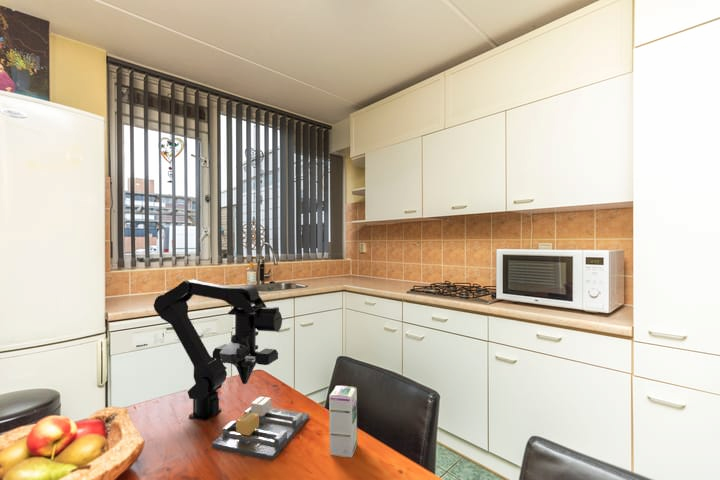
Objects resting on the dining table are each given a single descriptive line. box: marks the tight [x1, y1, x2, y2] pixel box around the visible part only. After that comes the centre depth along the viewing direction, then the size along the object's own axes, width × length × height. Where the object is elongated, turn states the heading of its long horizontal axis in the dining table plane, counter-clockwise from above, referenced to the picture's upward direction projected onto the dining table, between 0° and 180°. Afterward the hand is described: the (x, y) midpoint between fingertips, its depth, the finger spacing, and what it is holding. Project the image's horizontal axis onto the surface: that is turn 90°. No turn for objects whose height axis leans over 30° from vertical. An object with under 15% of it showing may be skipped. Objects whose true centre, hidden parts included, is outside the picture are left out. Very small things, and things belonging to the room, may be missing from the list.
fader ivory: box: [250, 396, 272, 417], centre depth 94 cm, size 4×4×5 cm
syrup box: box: [328, 385, 358, 458], centre depth 81 cm, size 6×6×14 cm
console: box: [211, 406, 310, 462], centre depth 89 cm, size 17×20×3 cm
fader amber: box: [236, 412, 259, 436], centre depth 85 cm, size 4×4×5 cm
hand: (244, 383), depth 96 cm, fingers closed
